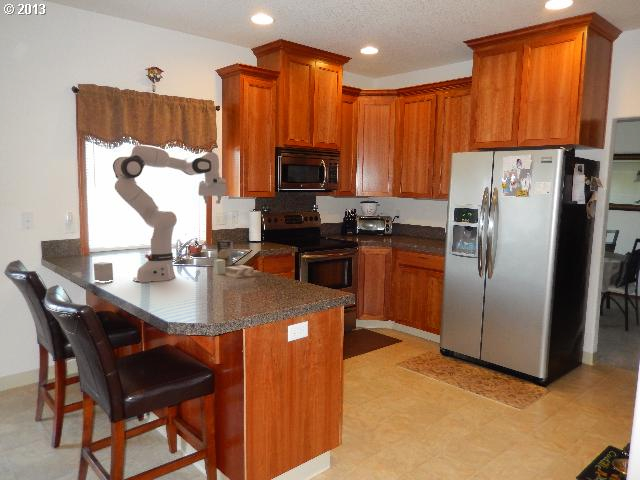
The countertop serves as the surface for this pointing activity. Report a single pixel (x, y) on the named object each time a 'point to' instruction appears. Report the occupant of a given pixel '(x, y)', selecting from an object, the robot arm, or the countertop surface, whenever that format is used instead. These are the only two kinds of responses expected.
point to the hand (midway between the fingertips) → (212, 203)
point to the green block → (219, 266)
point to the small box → (103, 271)
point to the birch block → (239, 271)
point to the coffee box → (225, 251)
